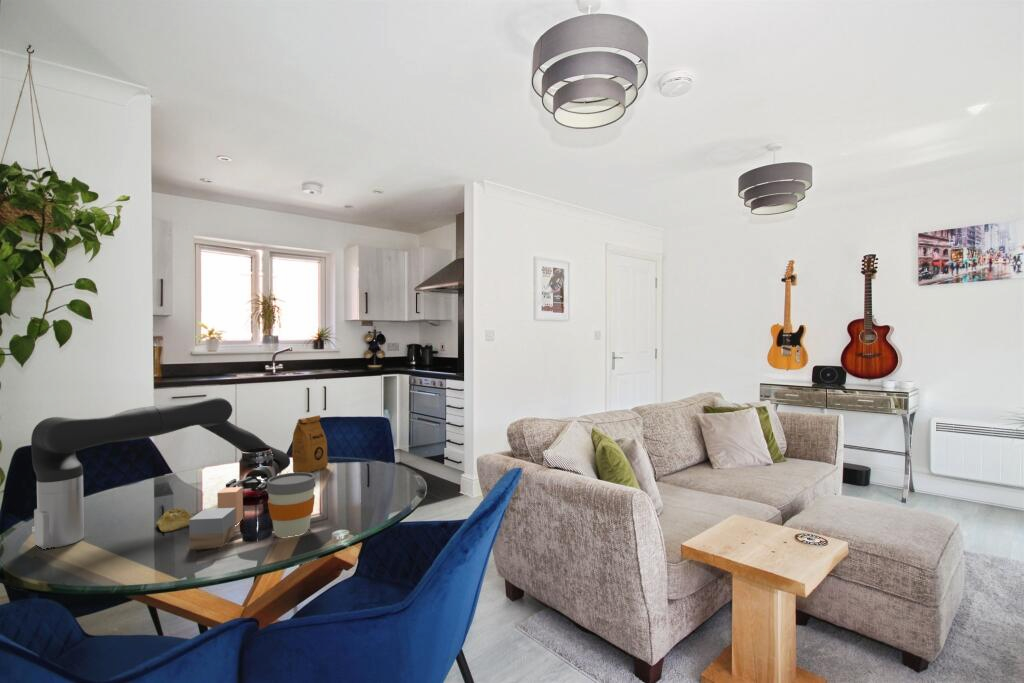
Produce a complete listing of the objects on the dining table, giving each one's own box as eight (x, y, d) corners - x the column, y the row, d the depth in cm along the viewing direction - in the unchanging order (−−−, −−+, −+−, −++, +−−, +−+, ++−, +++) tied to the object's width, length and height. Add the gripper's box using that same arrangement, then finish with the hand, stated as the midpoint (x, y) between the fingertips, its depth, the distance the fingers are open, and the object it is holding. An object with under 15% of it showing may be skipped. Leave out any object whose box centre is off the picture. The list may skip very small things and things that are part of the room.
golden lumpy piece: (193, 506, 145) (151, 512, 141) (193, 528, 144) (150, 534, 140) (199, 504, 155) (160, 510, 151) (199, 525, 153) (160, 531, 149)
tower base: (223, 548, 131) (223, 533, 131) (189, 550, 129) (189, 535, 129) (235, 536, 139) (234, 521, 139) (203, 538, 137) (203, 523, 137)
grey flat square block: (222, 533, 130) (222, 518, 130) (189, 535, 130) (189, 519, 130) (235, 522, 138) (235, 507, 138) (204, 523, 138) (204, 509, 137)
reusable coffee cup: (268, 527, 144) (268, 474, 144) (315, 520, 149) (315, 470, 149) (265, 543, 133) (264, 487, 133) (316, 536, 137) (315, 481, 137)
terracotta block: (236, 526, 145) (236, 491, 145) (217, 527, 144) (217, 492, 144) (243, 520, 150) (242, 486, 150) (224, 521, 149) (224, 487, 149)
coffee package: (331, 468, 208) (330, 415, 208) (306, 476, 197) (305, 419, 197) (314, 465, 213) (314, 413, 213) (289, 473, 202) (288, 418, 202)
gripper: (238, 467, 173) (219, 480, 157) (282, 464, 175) (268, 478, 159) (238, 488, 173) (219, 504, 157) (282, 486, 175) (268, 501, 159)
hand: (244, 491), depth 158 cm, fingers open, 8 cm apart
